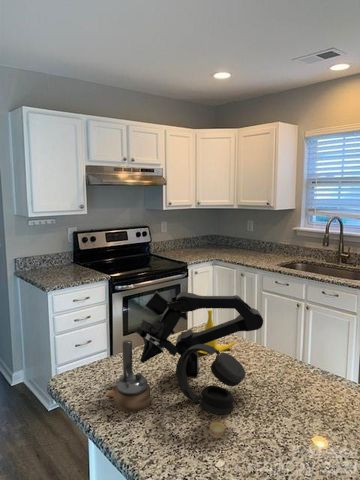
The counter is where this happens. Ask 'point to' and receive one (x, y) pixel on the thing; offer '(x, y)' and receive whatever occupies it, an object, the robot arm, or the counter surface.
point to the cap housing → (131, 400)
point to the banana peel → (214, 343)
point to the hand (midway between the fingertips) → (141, 362)
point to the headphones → (223, 370)
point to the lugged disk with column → (130, 375)
